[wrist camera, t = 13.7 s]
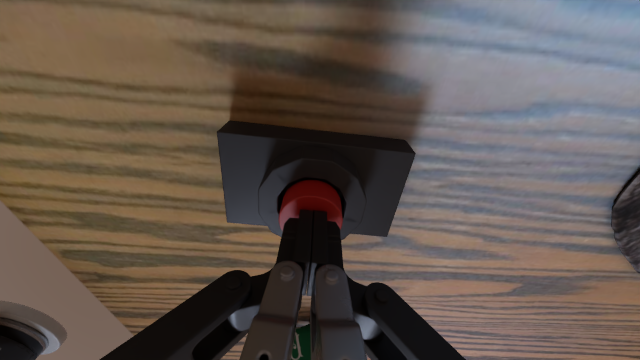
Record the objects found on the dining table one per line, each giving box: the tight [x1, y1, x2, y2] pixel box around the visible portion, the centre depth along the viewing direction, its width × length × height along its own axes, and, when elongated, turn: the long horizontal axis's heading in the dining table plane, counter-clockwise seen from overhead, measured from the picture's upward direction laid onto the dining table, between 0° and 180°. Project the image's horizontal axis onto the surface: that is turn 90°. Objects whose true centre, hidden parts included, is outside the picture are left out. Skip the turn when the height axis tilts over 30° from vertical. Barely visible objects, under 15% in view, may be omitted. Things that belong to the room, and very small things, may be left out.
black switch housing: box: [217, 121, 415, 240], centre depth 16 cm, size 12×7×4 cm, turn 84°
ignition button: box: [279, 180, 343, 231], centre depth 14 cm, size 4×4×2 cm
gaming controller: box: [291, 324, 311, 360], centre depth 27 cm, size 9×4×6 cm
